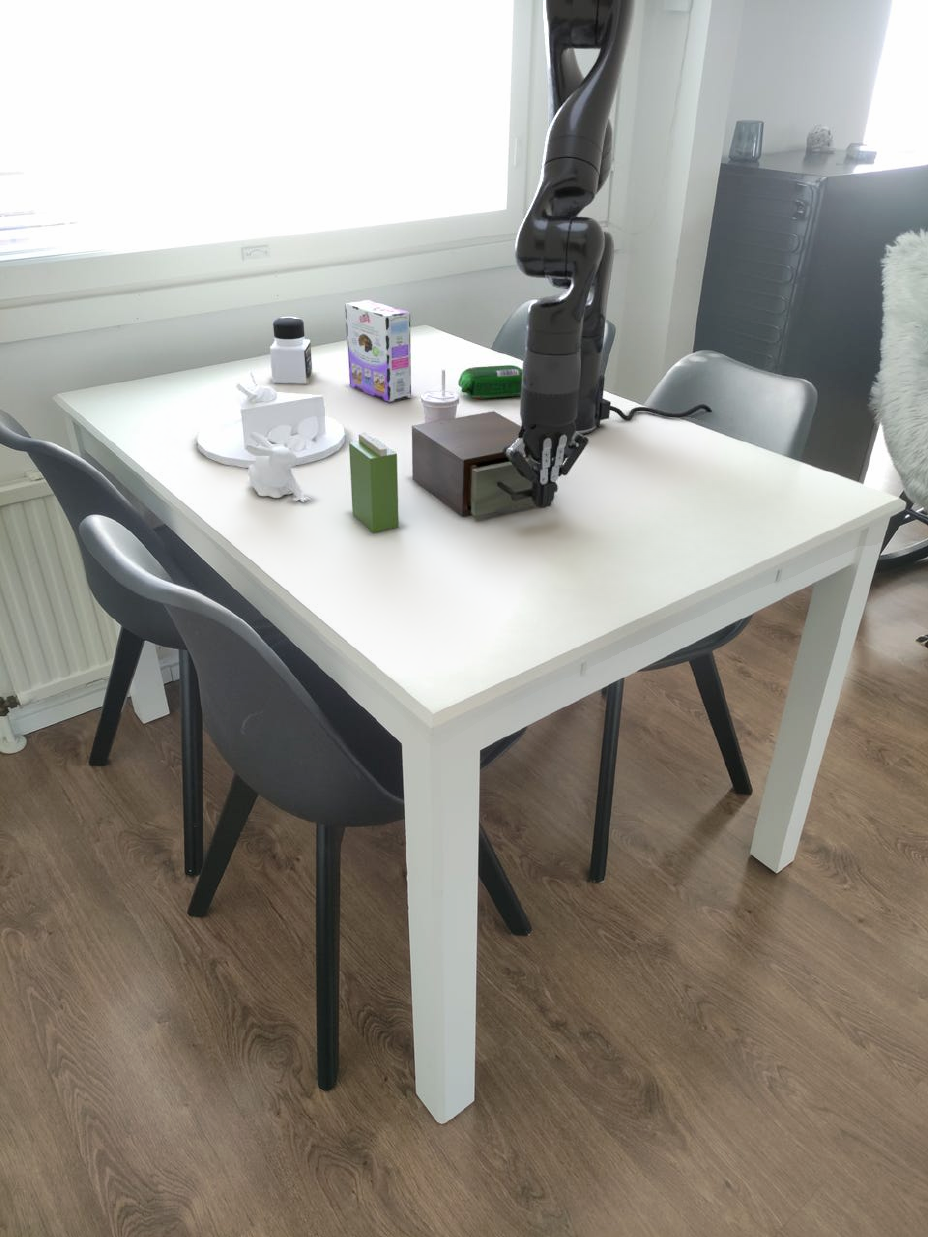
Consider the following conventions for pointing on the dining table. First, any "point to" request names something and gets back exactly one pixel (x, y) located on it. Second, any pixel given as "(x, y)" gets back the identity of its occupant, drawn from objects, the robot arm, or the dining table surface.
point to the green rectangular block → (374, 483)
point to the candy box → (379, 350)
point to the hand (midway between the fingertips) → (542, 505)
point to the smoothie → (439, 404)
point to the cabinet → (458, 453)
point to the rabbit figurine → (273, 469)
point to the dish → (273, 427)
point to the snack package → (491, 381)
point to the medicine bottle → (290, 352)
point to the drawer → (497, 487)
